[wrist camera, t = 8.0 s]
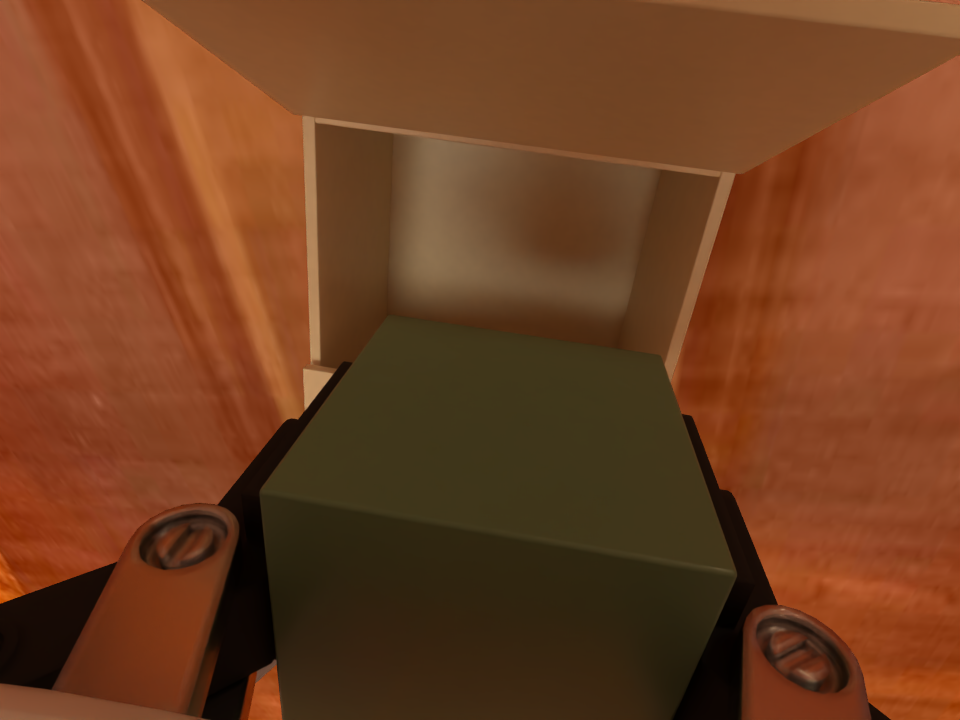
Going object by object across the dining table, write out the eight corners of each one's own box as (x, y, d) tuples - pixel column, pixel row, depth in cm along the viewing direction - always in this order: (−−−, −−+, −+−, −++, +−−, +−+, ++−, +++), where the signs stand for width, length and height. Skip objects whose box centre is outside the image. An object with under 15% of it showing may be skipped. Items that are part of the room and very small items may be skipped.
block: (388, 312, 10) (256, 490, 6) (661, 353, 10) (740, 575, 6) (381, 516, 13) (284, 754, 8) (604, 555, 12) (627, 826, 8)
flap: (292, 114, 16) (294, 100, 16) (742, 175, 15) (745, 159, 15) (49, -68, 8) (50, -99, 8) (988, 40, 7) (997, 7, 7)
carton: (388, 96, 25) (289, 108, 16) (678, 134, 24) (746, 168, 15) (378, 412, 33) (308, 540, 24) (597, 448, 32) (611, 596, 23)
